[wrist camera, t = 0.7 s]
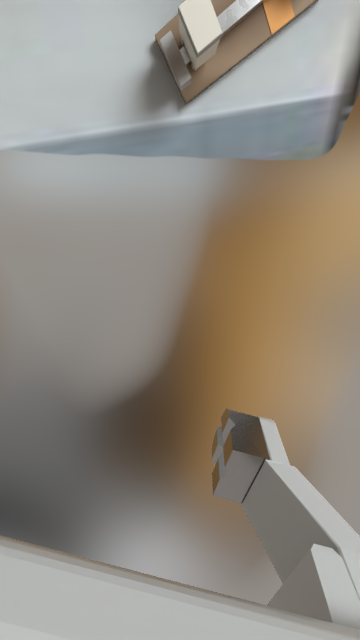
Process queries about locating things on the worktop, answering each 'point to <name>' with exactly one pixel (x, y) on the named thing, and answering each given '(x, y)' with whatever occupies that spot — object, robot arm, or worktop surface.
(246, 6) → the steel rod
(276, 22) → the rail board
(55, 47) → the worktop surface
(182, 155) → the worktop surface
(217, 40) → the grey-banded white pillar
